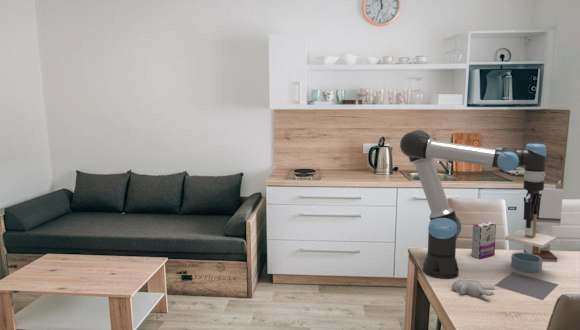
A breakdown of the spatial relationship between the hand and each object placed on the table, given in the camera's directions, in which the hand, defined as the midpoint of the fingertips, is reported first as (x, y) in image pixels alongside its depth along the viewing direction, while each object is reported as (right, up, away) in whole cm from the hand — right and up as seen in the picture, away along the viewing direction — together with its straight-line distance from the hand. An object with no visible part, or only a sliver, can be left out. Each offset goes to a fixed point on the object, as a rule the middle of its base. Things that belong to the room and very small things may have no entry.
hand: (530, 233), depth 185 cm
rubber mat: (-6, -20, -9) cm, 23 cm away
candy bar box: (-9, -15, +27) cm, 32 cm away
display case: (+18, -16, +24) cm, 34 cm away
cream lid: (0, -3, 0) cm, 3 cm away
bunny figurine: (-31, -22, -14) cm, 41 cm away
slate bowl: (+4, -17, +10) cm, 21 cm away
